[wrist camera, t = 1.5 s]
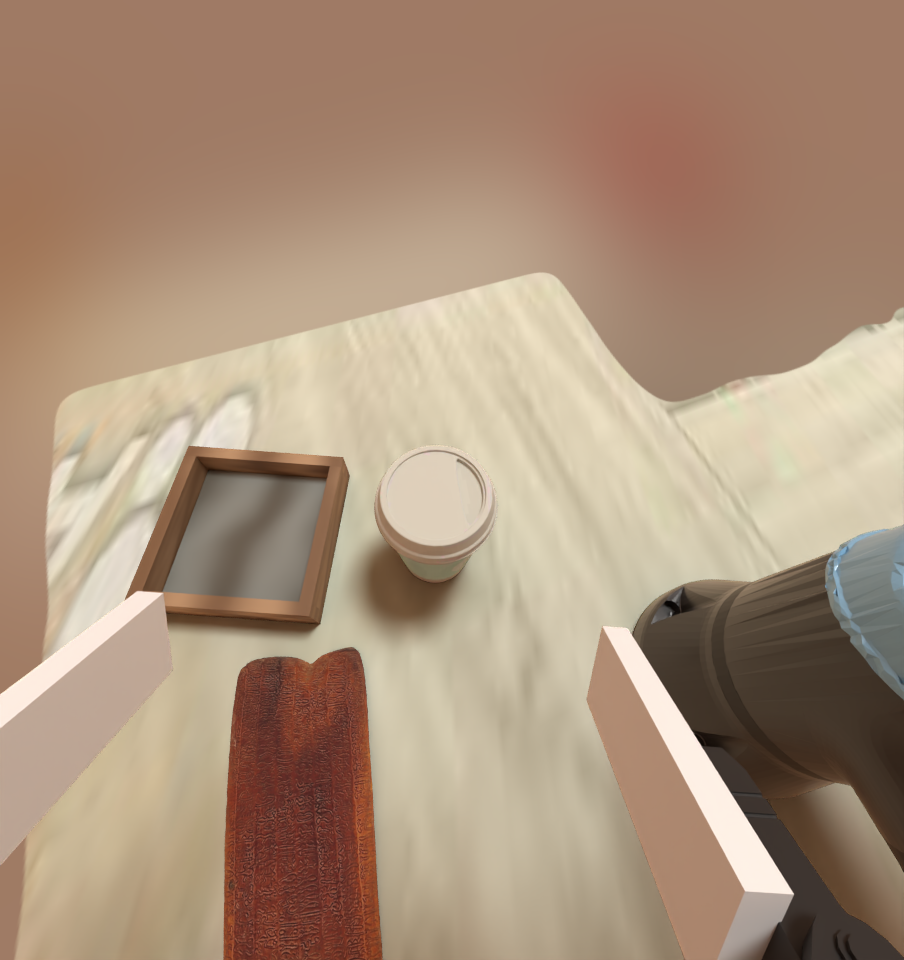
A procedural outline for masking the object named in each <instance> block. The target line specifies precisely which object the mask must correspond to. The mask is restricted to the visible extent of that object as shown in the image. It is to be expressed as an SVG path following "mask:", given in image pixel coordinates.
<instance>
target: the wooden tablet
mask: <svg viewBox="0 0 904 960" xmlns="http://www.w3.org/2000/svg"><path fill="white" fill-rule="evenodd" d="M224 896H225V903H224V960H382V943H381V931H380V917H379V905H378V890H377V873H376V850H375V831H374V812H373V792H372V779H371V763H370V748H369V731H368V709H367V695H366V685H365V676H364V669H363V664H362V660H361V657H360V654H359V652H358V651H357V650H356V649H355V648H353V647H348V648H344V649H340V650H336V651H333V652H330V653H327V654H325V655H323V656H321V657H320V658H318V659H317V660H316V661H315V662H314V663H313V664H309V663H308V662H305V661H304V660H301V659H298V658H293V657H268V658H262V659H257V660H254V661H251V662H250V663H248V664H247V665H246V666H245V667H243V668H242V669H241V671H240V674H239V676H238V681H237V687H236V694H235V701H234V708H233V717H232V727H231V742H230V754H229V772H228V788H227V808H226V832H225V886H224Z"/></svg>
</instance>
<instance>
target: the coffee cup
mask: <svg viewBox="0 0 904 960" xmlns="http://www.w3.org/2000/svg"><path fill="white" fill-rule="evenodd" d="M375 518H376V522H377V525H378V528H379V530H380V532H381V534H382V536H383V537H384V539H385V540H386V541H387V543H388V544H389V545H390V546H391V547H392V548H393V549H395V550H396V551H397V552H398V554H399V555H400V557H401V558H402V560H403V561H404V563H405V565H406V566H407V567H408V569H409V570H410V572H411V573H412V574H413V575H415V576H416V577H417V578H419V579H421V580H423V581H426V582H431V583H439V582H444V581H447V580H450V579H451V578H453V577H455V576H456V575H457V574H458V573H459V572H460V571H461V570H462V568H463V567H464V565H465V564H466V563H467V561H468V560H469V558H470V557H471V555H472V554H473V553H474V552H475V551H476V550H477V549H479V548H480V547H481V546H482V545H483V544H484V543H485V541H486V540H487V539H488V537H489V536H490V534H491V532H492V530H493V528H494V525H495V522H496V518H497V497H496V492H495V488H494V486H493V483H492V481H491V479H490V478H489V476H488V474H487V473H486V471H485V470H484V468H483V467H482V466H481V464H480V463H479V462H478V461H477V460H476V459H474V458H473V457H472V456H470V455H469V454H467V453H466V452H464V451H462V450H459V449H457V448H453V447H449V446H444V445H429V446H423V447H419V448H416V449H413V450H411V451H409V452H407V453H405V454H403V455H402V456H400V457H399V458H398V459H397V460H396V461H395V462H394V463H393V464H392V465H391V466H390V467H389V469H388V470H387V472H386V473H385V475H384V476H383V478H382V479H381V481H380V483H379V486H378V489H377V492H376V497H375Z"/></svg>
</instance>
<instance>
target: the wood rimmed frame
mask: <svg viewBox="0 0 904 960" xmlns="http://www.w3.org/2000/svg"><path fill="white" fill-rule="evenodd" d="M349 477H350V475H349V472H348V470H347V467H346V464H345V461H344V459H343V457H331V456H318V455H304V454H291V453H277V452H264V451H250V450H237V449H223V448H210V447H196V446H189V447H188V449H187V451H186V454H185V456H184V459H183V461H182V463H181V466H180V468H179V471H178V473H177V475H176V478H175V480H174V483H173V485H172V487H171V490H170V492H169V495H168V497H167V499H166V502H165V504H164V507H163V509H162V511H161V514H160V516H159V519H158V521H157V524H156V526H155V528H154V531H153V533H152V536H151V538H150V540H149V543H148V545H147V548H146V550H145V552H144V555H143V557H142V560H141V562H140V564H139V567H138V569H137V572H136V574H135V576H134V579H133V581H132V584H131V586H130V588H129V591H128V593H127V596H126V598H125V600H126V599H127V598H129V597H130V596H131V595H133V594H134V593H135V592H137V591H143V592H156V593H163V594H164V602H165V610H166V613H172V614H186V615H200V616H214V617H228V618H242V619H255V620H269V621H283V622H297V623H311V624H320V622H321V617H322V612H323V607H324V602H325V597H326V592H327V587H328V582H329V577H330V572H331V567H332V562H333V557H334V552H335V547H336V542H337V537H338V532H339V527H340V522H341V517H342V512H343V507H344V502H345V497H346V492H347V487H348V482H349ZM125 600H124V601H125Z"/></svg>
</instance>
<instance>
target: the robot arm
mask: <svg viewBox="0 0 904 960" xmlns="http://www.w3.org/2000/svg"><path fill="white" fill-rule="evenodd" d="M172 671H173V666H172V658H171V650H170V642H169V634H168V626H167V618H166V610H165V602H164V594H163V593H156V592H143V591H137V592H135V593H134V594H133V595H131V596H130V597H129V598H127V599H126V600H125V601H123V602H122V603H121V604H119V605H118V606H117V607H115V608H114V609H113V610H112V611H110V612H109V613H108V614H106V615H105V616H104V617H102V618H101V619H100V620H98V621H97V622H96V623H94V624H93V625H92V626H90V627H89V628H88V629H86V630H85V631H84V632H82V633H81V634H80V635H78V636H77V637H76V638H74V639H73V640H72V641H70V642H69V643H68V644H66V645H65V646H64V647H62V648H61V649H60V650H59V651H57V652H56V653H55V654H53V655H52V656H51V657H49V658H48V659H47V660H45V661H44V662H43V663H41V664H40V665H39V666H37V667H36V668H35V669H33V670H32V671H31V672H30V673H28V674H27V675H25V676H24V677H23V678H21V679H20V680H19V681H18V682H16V683H15V684H13V685H12V686H11V687H10V688H8V689H7V690H6V691H4V692H3V693H2V694H0V865H1V864H2V863H3V862H4V861H5V860H6V859H7V857H8V856H9V855H10V854H11V853H12V852H13V851H14V849H15V848H16V847H17V846H18V845H19V844H20V843H21V842H22V840H23V839H24V838H25V837H26V836H27V835H28V834H29V833H30V831H31V830H32V829H33V828H34V827H35V826H36V825H37V823H38V822H39V821H40V820H41V819H42V818H43V817H44V816H45V814H46V813H47V812H48V811H49V810H50V809H51V808H52V806H53V805H54V804H55V803H56V802H57V801H58V800H59V799H60V797H61V796H62V795H63V794H64V793H65V792H66V791H67V790H68V788H69V787H70V786H71V785H72V784H73V783H74V782H75V780H76V779H77V778H78V777H79V776H80V775H81V774H82V773H83V771H84V770H85V769H86V768H87V767H88V766H89V765H90V763H91V762H92V761H93V760H94V759H95V758H96V757H97V756H98V754H99V753H100V752H101V751H102V750H103V749H104V748H105V747H106V745H107V744H108V743H109V742H110V741H111V740H112V739H113V737H114V736H115V735H116V734H117V733H118V732H119V731H120V730H121V728H122V727H123V726H124V725H125V724H126V723H127V722H128V720H129V719H130V718H131V717H132V716H133V715H134V714H135V713H136V711H137V710H138V709H139V708H140V707H141V706H142V705H143V704H144V702H145V701H146V700H147V699H148V698H149V697H150V696H151V694H152V693H153V692H154V691H155V690H156V689H157V688H158V687H159V685H160V684H161V683H162V682H163V681H164V680H165V679H166V677H167V676H168V675H169V674H170V673H171V672H172ZM587 702H588V705H589V708H590V710H591V713H592V716H593V718H594V721H595V724H596V726H597V729H598V731H599V734H600V737H601V739H602V742H603V745H604V747H605V750H606V753H607V755H608V758H609V761H610V763H611V766H612V768H613V771H614V774H615V776H616V779H617V782H618V784H619V787H620V790H621V792H622V795H623V797H624V800H625V803H626V805H627V808H628V811H629V813H630V816H631V819H632V821H633V824H634V826H635V829H636V832H637V834H638V837H639V840H640V842H641V845H642V848H643V850H644V853H645V855H646V858H647V861H648V863H649V866H650V869H651V871H652V874H653V877H654V879H655V882H656V884H657V887H658V890H659V892H660V895H661V898H662V900H663V903H664V906H665V908H666V911H667V914H668V916H669V919H670V921H671V924H672V927H673V929H674V932H675V935H676V937H677V940H678V943H679V945H680V948H681V950H682V953H683V956H684V958H685V960H904V958H903V957H902V956H901V954H900V953H899V952H898V951H897V950H896V949H895V948H894V947H893V946H892V945H891V944H890V943H889V942H888V941H887V940H886V939H885V938H884V937H883V936H881V935H880V934H879V933H877V932H876V931H875V930H874V929H872V928H871V927H870V926H868V925H867V924H866V923H864V922H862V921H860V920H859V919H857V918H855V917H853V916H851V915H849V914H847V913H846V912H845V911H844V910H843V908H842V907H841V906H840V905H839V903H838V902H837V901H836V899H835V898H834V896H833V895H832V893H831V892H830V891H829V889H828V888H827V886H826V885H825V883H824V882H823V880H822V879H821V878H820V876H819V875H818V873H817V872H816V870H815V869H814V868H813V866H812V865H811V863H810V862H809V860H808V859H807V857H806V856H805V855H804V853H803V852H802V850H801V849H800V847H799V846H798V845H797V843H796V842H795V840H794V839H793V837H792V836H791V834H790V833H789V832H788V830H787V829H786V827H785V826H784V824H783V823H782V822H781V820H778V819H777V816H776V813H775V811H774V810H773V809H772V807H771V806H770V804H769V803H768V801H767V800H766V799H780V798H789V797H794V796H798V795H801V794H804V793H807V792H810V791H813V790H816V789H818V788H821V787H824V786H827V785H830V784H833V783H840V784H845V785H850V786H851V787H852V788H853V789H854V791H855V793H856V794H857V796H858V797H859V799H860V801H861V802H862V804H863V806H864V807H865V809H866V810H867V812H868V814H869V815H870V817H871V819H872V820H873V822H874V824H875V825H876V827H877V829H878V830H879V832H880V834H881V835H882V836H883V838H884V840H885V841H886V843H887V845H888V846H889V848H890V849H891V851H892V853H893V854H894V856H895V858H896V859H897V861H898V862H899V864H900V866H901V868H902V870H903V872H904V525H901V526H898V527H895V528H892V529H883V530H877V531H872V532H868V533H864V534H861V535H859V536H857V537H854V538H852V539H850V540H849V541H847V542H845V543H843V544H841V545H840V547H839V549H838V550H837V551H834V552H831V553H829V554H826V555H823V556H820V557H818V558H815V559H812V560H810V561H807V562H804V563H802V564H799V565H796V566H794V567H791V568H788V569H786V570H783V571H780V572H778V573H775V574H772V575H770V576H767V577H764V578H762V579H759V580H757V581H754V582H742V581H729V580H700V581H695V582H690V583H687V584H684V585H681V586H679V587H677V588H675V589H673V590H671V591H668V592H666V593H665V594H663V595H661V596H660V597H658V598H657V599H656V600H654V601H653V602H652V603H651V604H650V605H649V606H648V607H647V608H646V610H645V611H644V612H643V614H642V615H641V617H640V619H639V621H638V623H637V625H636V628H635V630H634V634H633V636H632V635H631V633H630V631H629V630H628V628H621V627H608V626H602V630H601V634H600V639H599V644H598V649H597V653H596V658H595V663H594V667H593V672H592V677H591V681H590V686H589V691H588V695H587ZM765 798H766V799H765Z"/></svg>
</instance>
